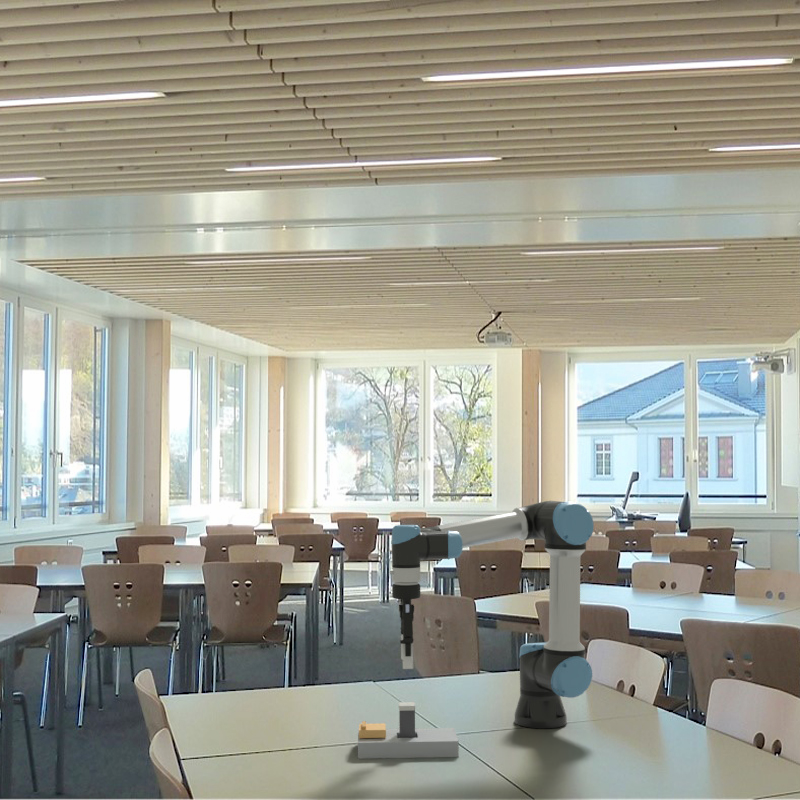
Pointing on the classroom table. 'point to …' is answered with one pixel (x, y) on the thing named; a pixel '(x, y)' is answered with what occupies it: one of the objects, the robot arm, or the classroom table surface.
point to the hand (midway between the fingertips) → (407, 663)
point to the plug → (406, 719)
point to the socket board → (411, 744)
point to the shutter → (372, 730)
